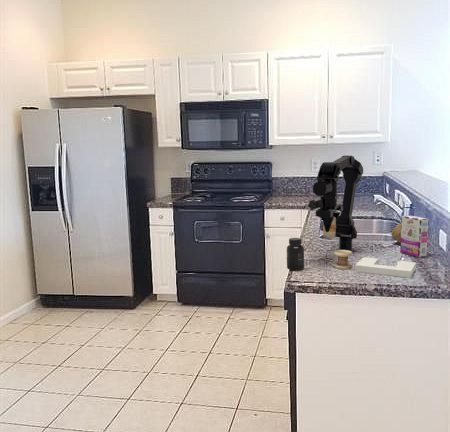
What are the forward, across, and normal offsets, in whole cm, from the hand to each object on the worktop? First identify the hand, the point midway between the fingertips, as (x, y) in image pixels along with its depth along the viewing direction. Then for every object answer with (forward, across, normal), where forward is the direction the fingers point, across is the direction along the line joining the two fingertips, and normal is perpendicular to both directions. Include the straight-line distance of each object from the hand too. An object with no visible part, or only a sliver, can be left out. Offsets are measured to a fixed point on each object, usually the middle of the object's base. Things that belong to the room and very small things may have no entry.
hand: (329, 230), depth 199 cm
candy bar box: (+13, -23, +30) cm, 40 cm away
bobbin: (+12, +8, +8) cm, 17 cm away
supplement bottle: (+13, +18, -8) cm, 23 cm away
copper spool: (+3, 0, 0) cm, 3 cm away
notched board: (+12, +6, +24) cm, 28 cm away
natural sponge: (+13, -41, +22) cm, 48 cm away
